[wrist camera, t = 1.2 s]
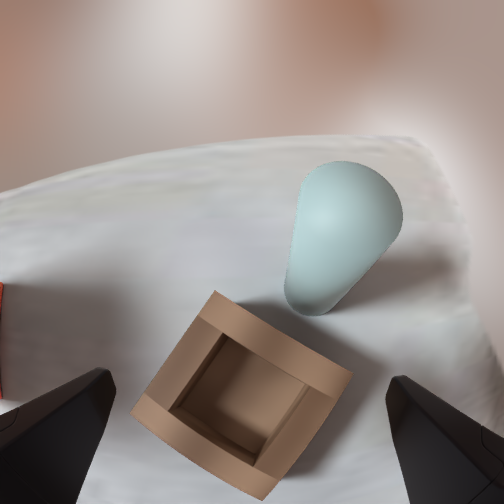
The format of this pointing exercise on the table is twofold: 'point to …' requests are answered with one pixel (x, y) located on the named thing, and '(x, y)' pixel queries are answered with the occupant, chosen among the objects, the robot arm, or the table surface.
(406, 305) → the table surface
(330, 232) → the column
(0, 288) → the cracker box
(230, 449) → the socket base
